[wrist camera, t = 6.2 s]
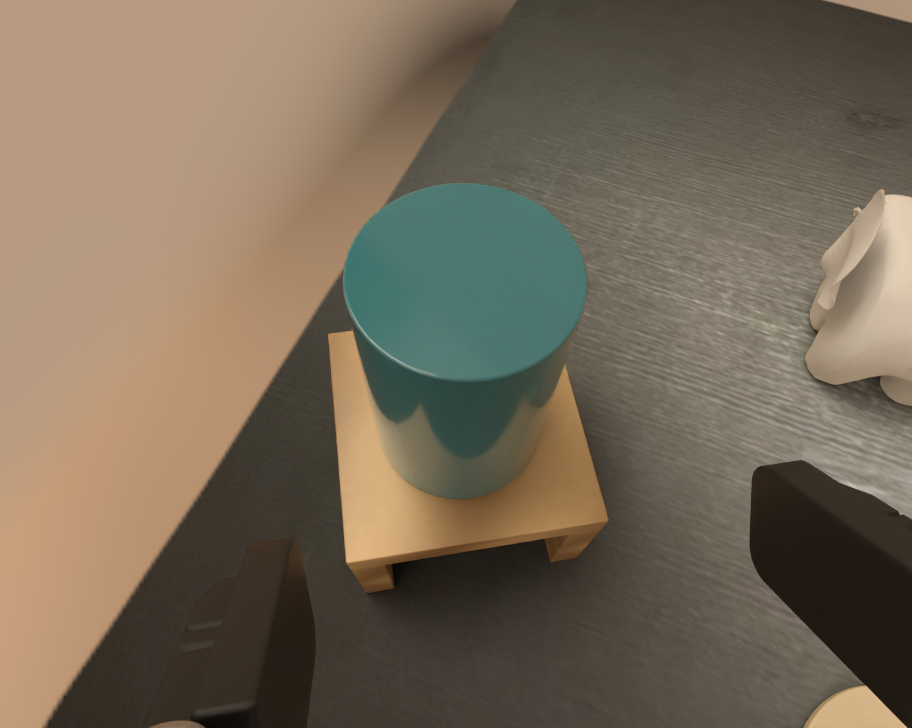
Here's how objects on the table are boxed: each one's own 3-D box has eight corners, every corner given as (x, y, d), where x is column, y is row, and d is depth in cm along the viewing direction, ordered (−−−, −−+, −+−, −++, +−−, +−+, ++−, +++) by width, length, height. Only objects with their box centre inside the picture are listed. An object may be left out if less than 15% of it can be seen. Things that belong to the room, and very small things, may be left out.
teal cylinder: (386, 512, 22) (352, 398, 14) (369, 360, 25) (333, 194, 17) (556, 485, 22) (618, 361, 14) (520, 340, 25) (555, 170, 17)
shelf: (365, 593, 26) (345, 563, 21) (348, 398, 30) (327, 333, 25) (577, 557, 27) (609, 520, 22) (531, 373, 31) (548, 304, 26)
